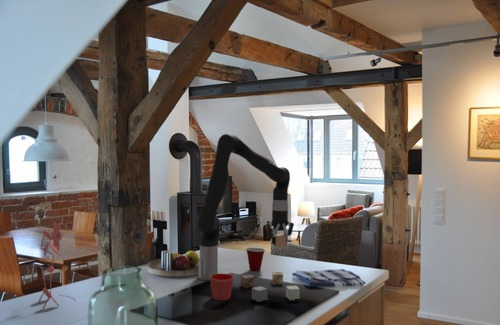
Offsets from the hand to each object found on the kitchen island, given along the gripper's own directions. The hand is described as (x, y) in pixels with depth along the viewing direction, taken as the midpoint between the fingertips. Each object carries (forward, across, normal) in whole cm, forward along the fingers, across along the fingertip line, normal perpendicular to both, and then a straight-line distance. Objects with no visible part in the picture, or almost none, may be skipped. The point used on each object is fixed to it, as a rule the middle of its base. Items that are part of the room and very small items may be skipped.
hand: (279, 244), depth 230 cm
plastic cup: (+22, +2, -34) cm, 40 cm away
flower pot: (+22, +30, +8) cm, 38 cm away
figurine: (+22, +100, -2) cm, 102 cm away
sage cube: (+21, -1, +16) cm, 27 cm away
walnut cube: (+21, +14, -6) cm, 26 cm away
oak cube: (+21, -2, -8) cm, 23 cm away
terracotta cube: (+1, 0, 0) cm, 1 cm away
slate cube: (+21, +14, +14) cm, 29 cm away
